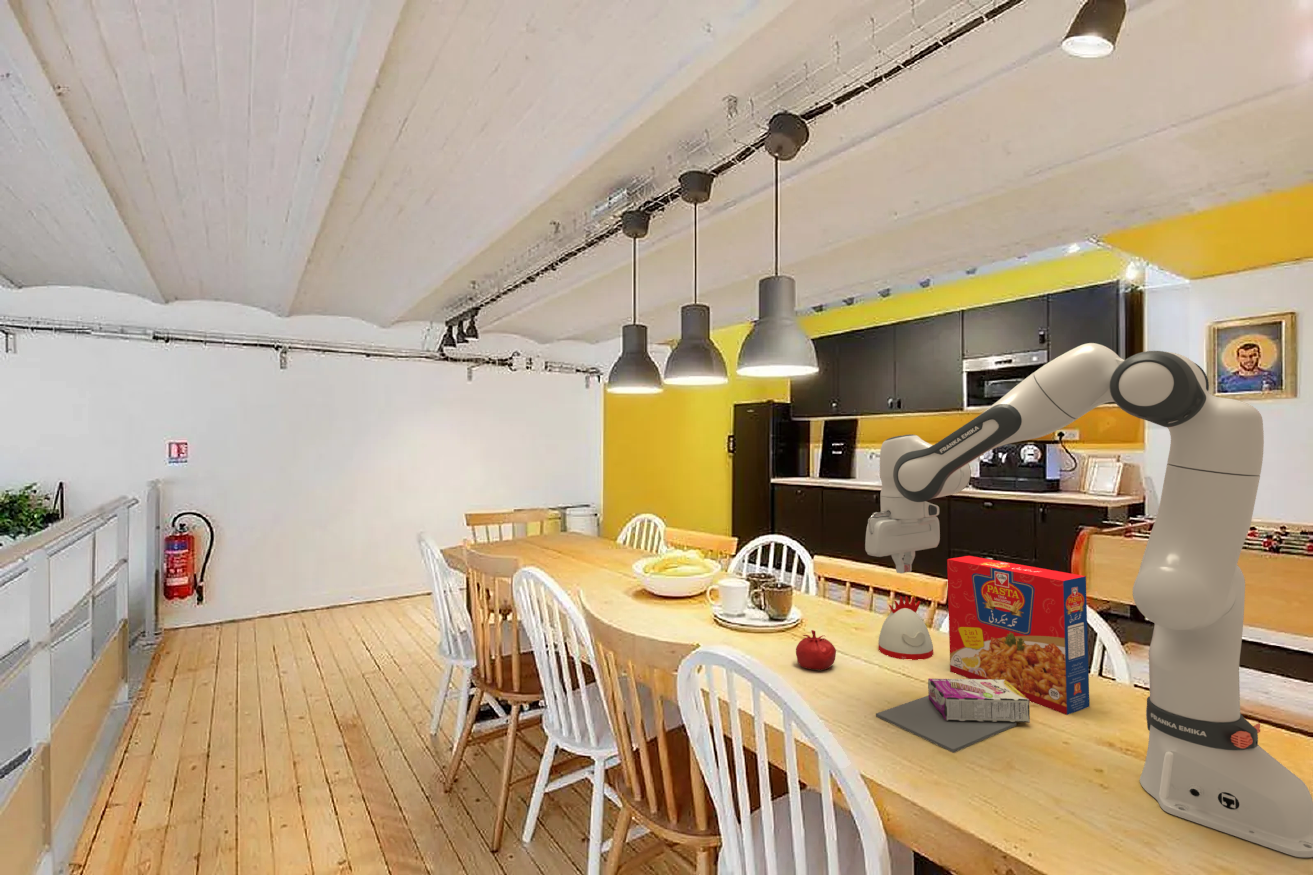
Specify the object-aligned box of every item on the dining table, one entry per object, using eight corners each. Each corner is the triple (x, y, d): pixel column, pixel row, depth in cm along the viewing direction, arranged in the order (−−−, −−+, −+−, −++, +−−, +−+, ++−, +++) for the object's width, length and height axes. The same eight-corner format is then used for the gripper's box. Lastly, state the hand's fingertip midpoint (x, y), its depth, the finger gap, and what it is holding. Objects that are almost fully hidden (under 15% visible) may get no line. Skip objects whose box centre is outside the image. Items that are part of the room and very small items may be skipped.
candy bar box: (927, 676, 137) (1005, 678, 136) (927, 699, 137) (1005, 701, 136) (945, 697, 126) (1030, 699, 125) (945, 722, 126) (1031, 724, 125)
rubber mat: (1016, 725, 125) (1016, 722, 125) (953, 752, 115) (953, 749, 115) (937, 694, 141) (937, 692, 141) (875, 716, 131) (875, 713, 131)
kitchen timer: (942, 659, 163) (940, 602, 163) (889, 661, 163) (887, 603, 163) (920, 642, 177) (919, 589, 177) (871, 643, 177) (870, 590, 177)
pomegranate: (827, 677, 154) (826, 640, 153) (789, 668, 160) (788, 632, 159) (842, 664, 161) (841, 628, 161) (805, 656, 168) (804, 622, 167)
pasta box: (950, 671, 155) (947, 559, 155) (971, 665, 158) (968, 555, 158) (1066, 715, 129) (1063, 580, 130) (1089, 706, 133) (1085, 576, 133)
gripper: (880, 514, 128) (882, 581, 128) (944, 506, 139) (946, 568, 138) (857, 511, 134) (859, 576, 134) (919, 504, 144) (921, 564, 144)
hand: (903, 572), depth 136 cm, fingers closed
